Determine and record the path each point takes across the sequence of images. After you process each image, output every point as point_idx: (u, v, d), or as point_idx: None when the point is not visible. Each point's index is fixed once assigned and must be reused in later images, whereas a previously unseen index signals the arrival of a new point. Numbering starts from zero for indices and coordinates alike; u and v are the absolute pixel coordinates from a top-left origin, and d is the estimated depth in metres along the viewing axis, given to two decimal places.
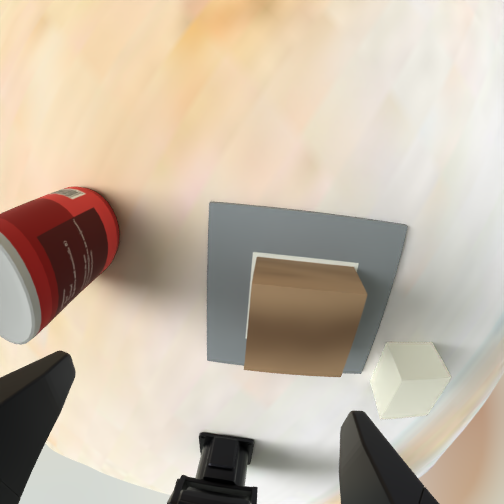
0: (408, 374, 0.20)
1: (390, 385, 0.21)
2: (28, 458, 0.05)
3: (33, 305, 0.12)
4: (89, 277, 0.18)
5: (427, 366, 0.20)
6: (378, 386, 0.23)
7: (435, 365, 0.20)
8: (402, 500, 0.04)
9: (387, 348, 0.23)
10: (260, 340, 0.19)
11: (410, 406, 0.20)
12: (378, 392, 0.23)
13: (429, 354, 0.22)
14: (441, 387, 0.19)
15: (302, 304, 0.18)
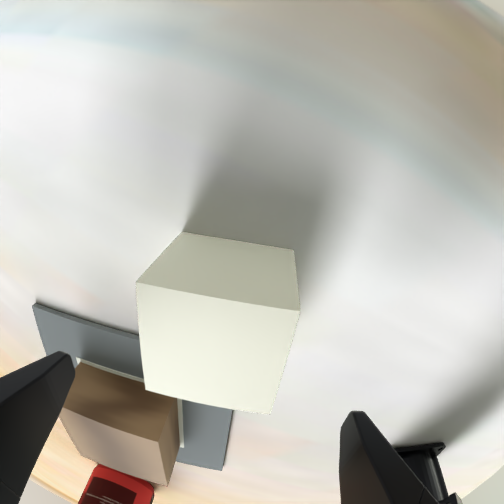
0: None
1: None
2: (27, 458, 0.05)
3: None
4: None
5: None
6: None
7: None
8: (403, 500, 0.04)
9: None
10: (128, 470, 0.15)
11: (234, 367, 0.10)
12: None
13: None
14: (169, 302, 0.09)
15: (81, 441, 0.15)
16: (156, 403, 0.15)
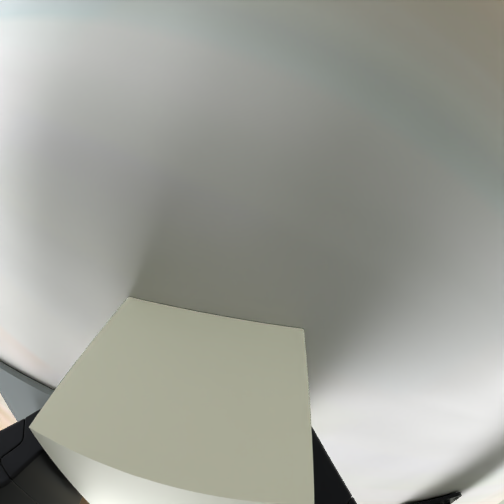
0: None
1: None
2: None
3: None
4: None
5: None
6: None
7: None
8: None
9: None
10: None
11: None
12: None
13: None
14: (84, 464, 0.04)
15: None
16: None
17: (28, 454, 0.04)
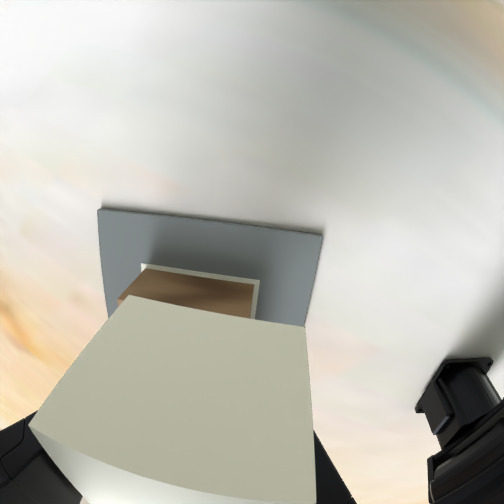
0: None
1: None
2: None
3: None
4: None
5: None
6: None
7: None
8: None
9: None
10: None
11: None
12: None
13: None
14: (83, 462, 0.04)
15: None
16: (236, 293, 0.17)
17: (28, 453, 0.04)
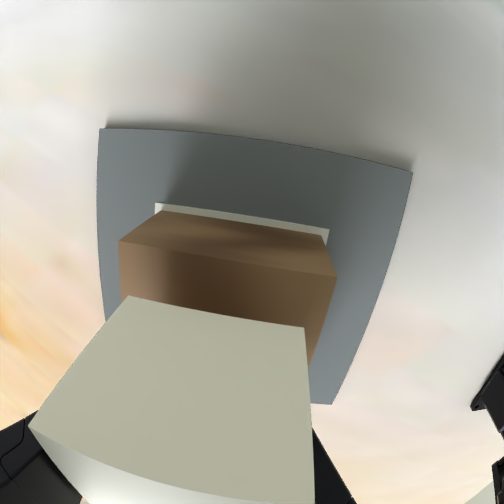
0: None
1: None
2: None
3: None
4: None
5: None
6: None
7: None
8: None
9: None
10: None
11: None
12: None
13: None
14: (83, 463, 0.04)
15: None
16: (302, 242, 0.11)
17: (29, 453, 0.04)
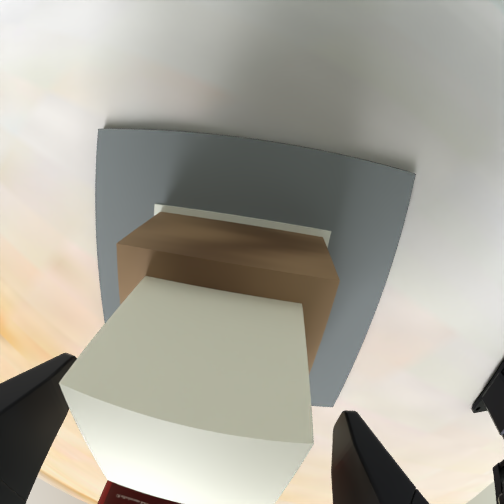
0: None
1: None
2: (33, 461, 0.05)
3: None
4: None
5: None
6: None
7: None
8: (393, 502, 0.04)
9: None
10: None
11: (215, 484, 0.06)
12: None
13: None
14: (109, 415, 0.05)
15: None
16: (304, 244, 0.11)
17: None
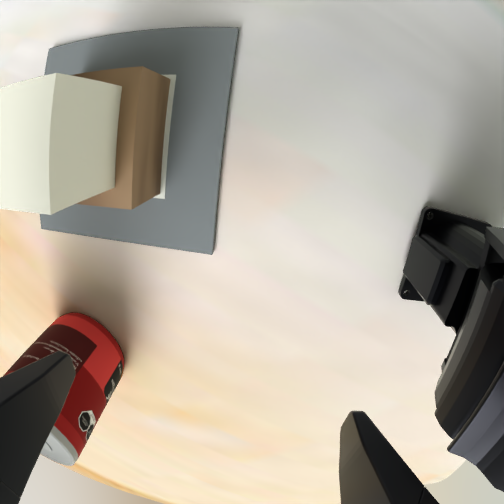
0: None
1: None
2: (27, 458, 0.05)
3: None
4: (70, 353, 0.18)
5: None
6: None
7: None
8: (402, 500, 0.04)
9: None
10: None
11: (20, 148, 0.08)
12: None
13: None
14: None
15: None
16: None
17: None
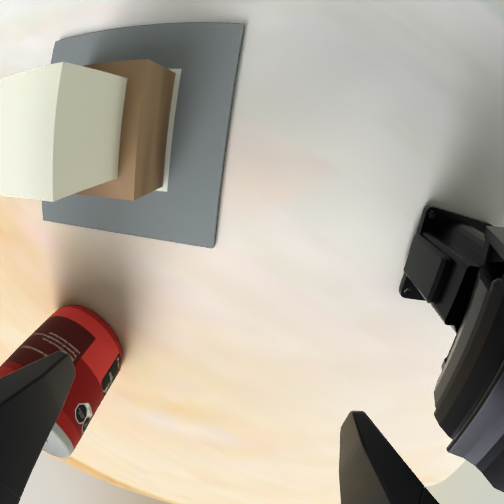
0: None
1: None
2: (28, 458, 0.05)
3: None
4: (68, 344, 0.18)
5: None
6: None
7: None
8: (403, 500, 0.04)
9: None
10: None
11: (25, 136, 0.08)
12: None
13: None
14: None
15: None
16: None
17: None
